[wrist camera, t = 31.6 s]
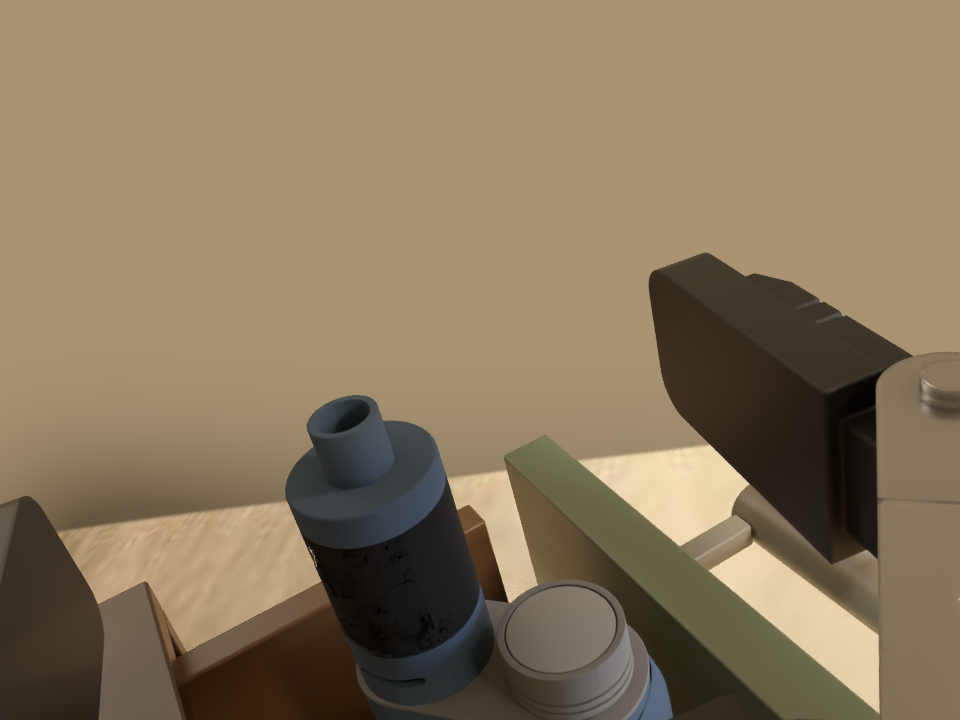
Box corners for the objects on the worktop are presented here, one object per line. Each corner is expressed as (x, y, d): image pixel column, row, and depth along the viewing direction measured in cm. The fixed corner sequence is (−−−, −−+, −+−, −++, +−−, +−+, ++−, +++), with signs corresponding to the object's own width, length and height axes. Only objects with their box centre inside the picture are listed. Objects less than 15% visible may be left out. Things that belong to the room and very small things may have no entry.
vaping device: (481, 812, 21) (314, 365, 15) (719, 870, 18) (636, 370, 12) (436, 928, 19) (220, 467, 13) (696, 1009, 16) (583, 496, 10)
